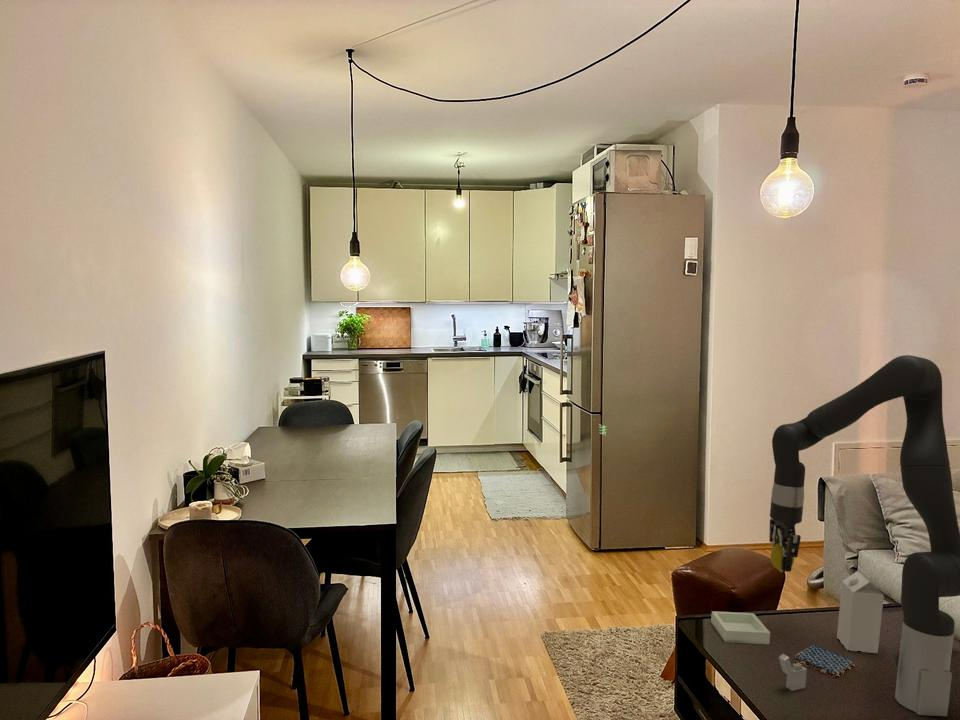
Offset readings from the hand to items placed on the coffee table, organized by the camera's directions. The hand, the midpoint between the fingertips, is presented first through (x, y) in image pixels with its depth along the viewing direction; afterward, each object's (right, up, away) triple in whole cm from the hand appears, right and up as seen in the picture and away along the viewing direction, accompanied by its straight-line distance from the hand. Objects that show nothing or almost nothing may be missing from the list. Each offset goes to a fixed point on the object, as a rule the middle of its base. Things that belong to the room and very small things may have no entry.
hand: (781, 566), depth 185 cm
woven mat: (+4, -20, -13) cm, 24 cm away
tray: (-11, -17, 0) cm, 20 cm away
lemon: (0, -2, 0) cm, 2 cm away
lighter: (-9, -20, -26) cm, 33 cm away
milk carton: (+17, -19, -3) cm, 26 cm away
